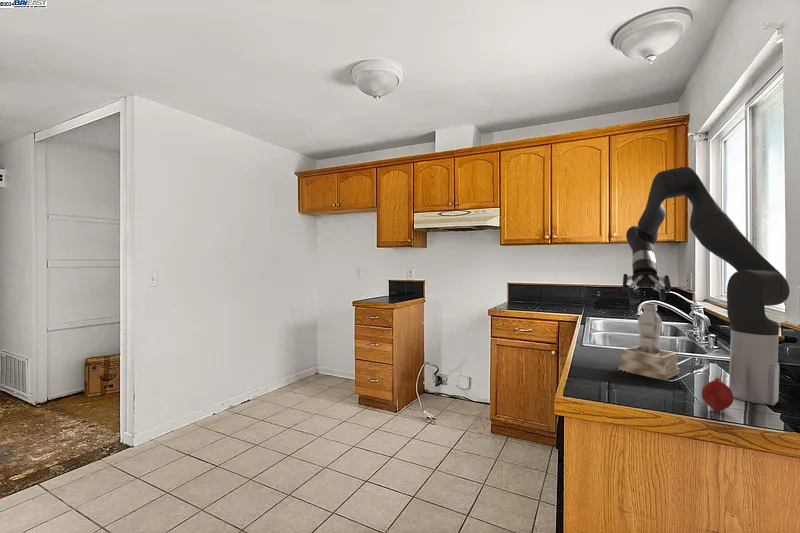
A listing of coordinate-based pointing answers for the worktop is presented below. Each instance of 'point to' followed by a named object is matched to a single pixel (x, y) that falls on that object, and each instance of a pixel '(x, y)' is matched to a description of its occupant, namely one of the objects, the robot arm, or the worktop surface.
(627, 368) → the wooden tray
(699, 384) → the worktop surface
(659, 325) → the silver bottle
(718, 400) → the onion
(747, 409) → the worktop surface
